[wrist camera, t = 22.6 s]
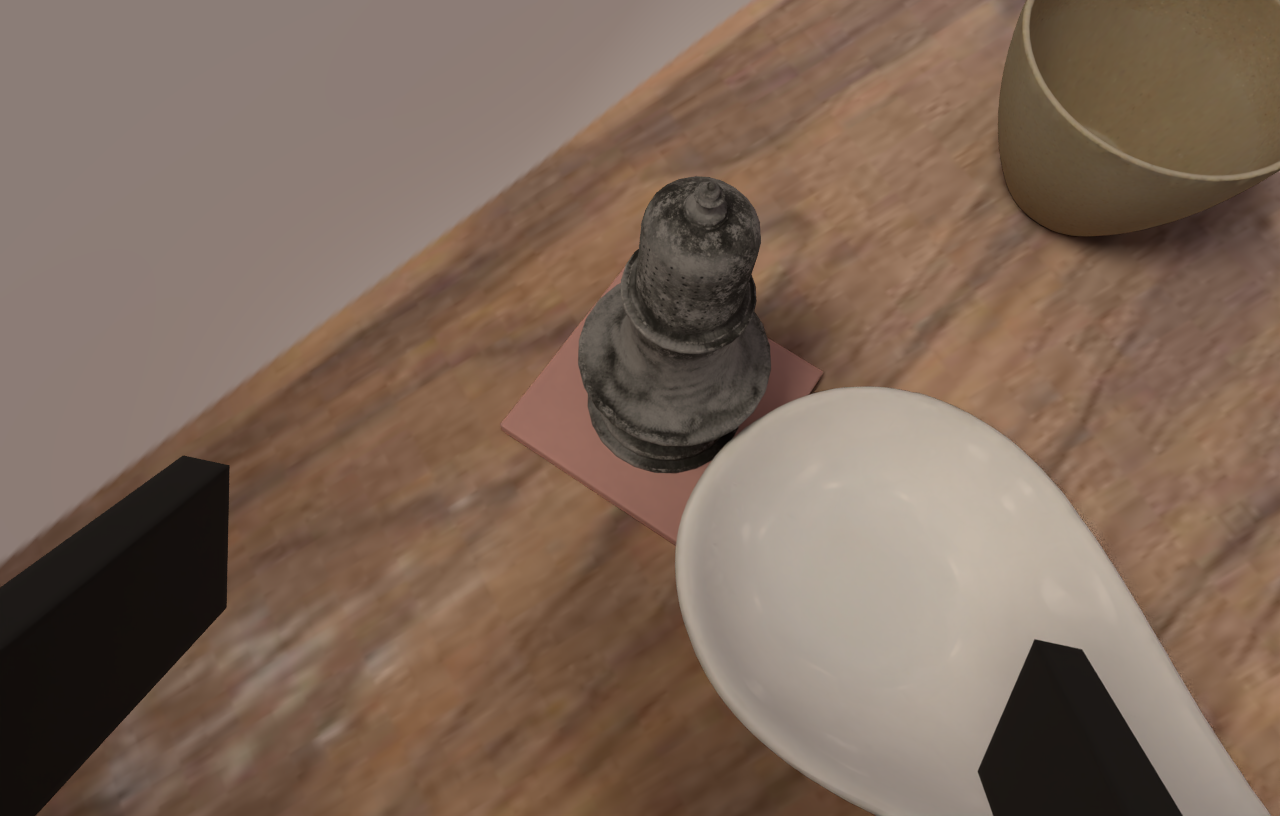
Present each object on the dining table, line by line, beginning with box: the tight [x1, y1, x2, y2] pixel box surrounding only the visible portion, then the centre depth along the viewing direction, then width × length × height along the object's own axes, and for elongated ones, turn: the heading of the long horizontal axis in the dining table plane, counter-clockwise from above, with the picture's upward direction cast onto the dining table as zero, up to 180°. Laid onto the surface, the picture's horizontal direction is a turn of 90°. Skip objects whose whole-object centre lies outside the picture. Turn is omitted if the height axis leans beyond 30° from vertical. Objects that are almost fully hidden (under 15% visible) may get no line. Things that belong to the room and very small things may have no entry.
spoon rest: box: [675, 387, 1271, 816], centre depth 24 cm, size 24×12×7 cm, turn 38°
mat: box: [500, 267, 823, 546], centre depth 31 cm, size 8×8×1 cm
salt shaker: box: [578, 176, 771, 473], centre depth 25 cm, size 6×6×12 cm
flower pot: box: [998, 0, 1280, 236], centre depth 32 cm, size 10×10×7 cm
